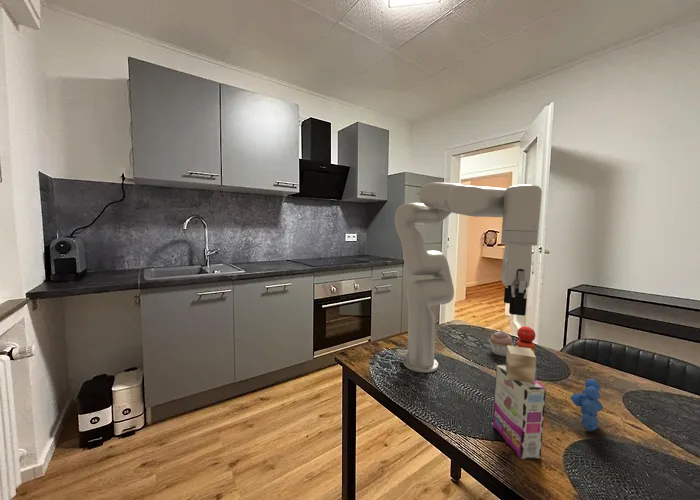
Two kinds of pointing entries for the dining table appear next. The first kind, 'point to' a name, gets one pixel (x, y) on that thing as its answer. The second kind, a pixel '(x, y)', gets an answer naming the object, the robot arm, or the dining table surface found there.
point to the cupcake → (500, 343)
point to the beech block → (520, 364)
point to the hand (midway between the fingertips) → (513, 308)
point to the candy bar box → (519, 414)
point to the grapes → (589, 404)
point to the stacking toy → (526, 339)
